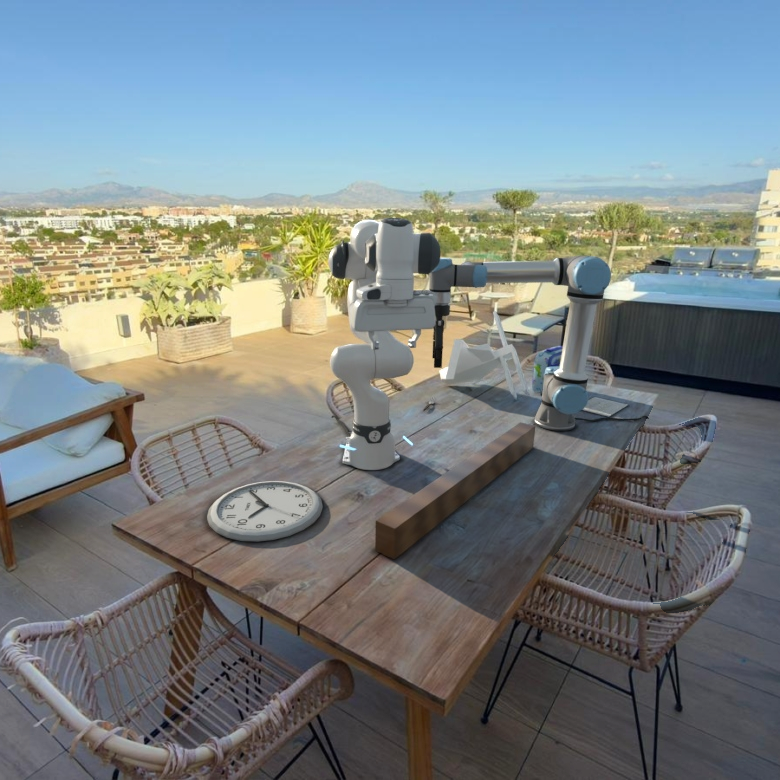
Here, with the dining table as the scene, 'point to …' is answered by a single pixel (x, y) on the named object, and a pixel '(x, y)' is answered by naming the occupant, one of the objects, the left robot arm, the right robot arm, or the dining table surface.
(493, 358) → the white plastic object
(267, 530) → the wall clock
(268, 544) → the dining table surface
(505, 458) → the post
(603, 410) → the invitation card
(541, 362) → the lunch box
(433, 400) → the fork
